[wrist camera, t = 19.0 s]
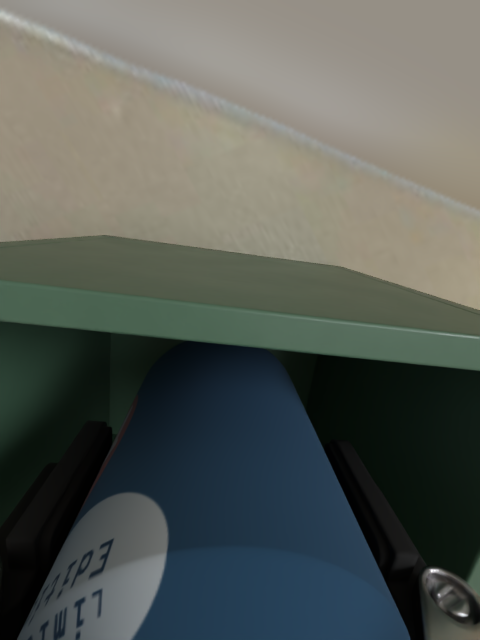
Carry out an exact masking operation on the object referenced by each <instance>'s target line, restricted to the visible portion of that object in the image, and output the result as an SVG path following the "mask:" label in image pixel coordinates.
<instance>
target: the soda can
mask: <svg viewBox="0 0 480 640" xmlns="http://www.w3.org/2000/svg"><path fill="white" fill-rule="evenodd" d="M17 640H410V636H409V633H408V630H407V628H406V626H405V623H404V621H403V619H402V617H401V615H400V613H399V610H398V608H397V606H396V604H395V602H394V600H393V598H392V595H391V593H390V591H389V589H388V587H387V585H386V582H385V580H384V578H383V576H382V574H381V572H380V570H379V567H378V565H377V563H376V561H375V559H374V557H373V555H372V552H371V550H370V548H369V546H368V544H367V542H366V540H365V537H364V535H363V533H362V531H361V529H360V527H359V525H358V522H357V520H356V518H355V516H354V514H353V512H352V509H351V507H350V505H349V503H348V501H347V499H346V497H345V494H344V492H343V490H342V488H341V486H340V484H339V482H338V479H337V477H336V475H335V473H334V471H333V469H332V467H331V464H330V462H329V460H328V458H327V456H326V454H325V452H324V449H323V447H322V445H321V443H320V441H319V439H318V436H317V434H316V432H315V430H314V428H313V426H312V424H311V421H310V419H309V417H308V415H307V413H306V411H305V409H304V406H303V404H302V402H301V400H300V398H299V396H298V394H297V391H296V389H295V387H294V385H293V383H292V381H291V379H290V376H289V374H288V373H287V371H286V369H285V368H284V366H283V365H282V364H281V362H280V361H279V360H278V359H277V358H276V357H275V356H274V355H273V354H272V353H270V352H269V351H268V350H266V349H263V348H254V347H244V346H234V345H225V344H215V343H205V342H196V341H185V342H182V343H180V344H178V345H176V346H175V347H173V348H171V349H170V350H168V351H167V352H166V353H165V354H163V355H162V356H161V357H160V358H159V359H158V360H157V361H156V362H155V363H154V364H153V366H152V367H151V368H150V370H149V371H148V373H147V375H146V377H145V379H144V381H143V383H142V385H141V387H140V389H139V391H138V393H137V395H136V397H135V399H134V401H133V403H132V405H131V407H130V409H129V411H128V413H127V415H126V417H125V419H124V421H123V424H122V426H121V428H120V430H119V432H118V434H117V436H116V438H115V440H114V442H113V444H112V446H111V448H110V450H109V452H108V454H107V456H106V458H105V460H104V462H103V464H102V466H101V468H100V470H99V473H98V475H97V477H96V479H95V481H94V483H93V485H92V487H91V489H90V491H89V493H88V495H87V497H86V499H85V501H84V503H83V505H82V507H81V509H80V511H79V513H78V515H77V517H76V520H75V522H74V524H73V526H72V528H71V530H70V532H69V534H68V536H67V538H66V540H65V542H64V544H63V546H62V548H61V550H60V552H59V554H58V556H57V558H56V560H55V562H54V564H53V567H52V569H51V571H50V573H49V575H48V577H47V579H46V581H45V583H44V585H43V587H42V589H41V591H40V593H39V595H38V597H37V599H36V601H35V603H34V605H33V607H32V609H31V611H30V613H29V616H28V618H27V620H26V622H25V624H24V626H23V628H22V630H21V632H20V634H19V636H18V638H17Z"/></svg>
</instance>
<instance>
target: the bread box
mask: <svg viewBox="0 0 480 640" xmlns="http://www.w3.org/2000/svg"><path fill="white" fill-rule="evenodd" d="M185 341H196V342H205V343H215V344H225V345H234V346H244V347H254V348H263V349H266V350H268V351H269V352H270V353H272V354H273V355H274V356H275V357H276V358H277V359H278V360H279V361H280V362H281V364H282V365H283V366H284V368H285V369H286V371H287V373H288V374H289V376H290V379H291V381H292V383H293V385H294V387H295V389H296V391H297V394H298V396H299V398H300V400H301V402H302V404H303V406H304V409H305V411H306V413H307V415H308V417H309V419H310V421H311V424H312V426H313V428H314V430H315V432H316V434H317V436H318V439H319V441H320V443H321V445H322V447H323V449H324V447H325V444H326V443H330V441H331V440H332V439H336V440H348V441H349V442H350V443H351V444H352V446H353V448H354V449H355V451H356V453H357V454H358V456H359V458H360V459H361V461H362V463H363V464H364V466H365V468H366V469H367V471H368V473H369V474H370V476H371V477H372V479H373V481H374V482H375V484H376V485H377V486H378V487H379V489H380V490H381V492H382V493H383V495H384V497H385V498H386V500H387V501H388V503H389V505H390V506H391V508H392V510H393V511H394V513H395V515H396V516H397V518H398V520H399V521H400V523H401V524H402V526H403V528H404V529H405V531H406V533H407V534H408V536H409V538H410V539H411V541H412V542H413V544H414V546H415V547H416V549H417V551H418V552H419V554H420V556H421V557H422V559H423V560H424V562H425V564H426V565H427V566H428V565H437V566H440V567H443V568H446V569H448V570H450V571H451V572H453V573H455V574H457V575H458V576H459V577H461V578H462V579H463V580H464V581H466V582H467V583H468V584H469V585H470V586H471V587H472V588H473V589H474V591H475V592H476V593H477V594H478V596H479V597H480V310H477V309H473V308H470V307H467V306H464V305H461V304H458V303H455V302H451V301H448V300H445V299H442V298H439V297H436V296H432V295H429V294H426V293H423V292H420V291H417V290H414V289H410V288H407V287H404V286H401V285H398V284H395V283H391V282H388V281H385V280H382V279H379V278H376V277H373V276H369V275H366V274H363V273H360V272H357V271H354V270H350V269H347V268H344V267H338V266H331V265H323V264H316V263H309V262H301V261H294V260H286V259H279V258H271V257H264V256H256V255H249V254H241V253H234V252H226V251H219V250H212V249H204V248H197V247H189V246H182V245H174V244H167V243H159V242H152V241H144V240H137V239H129V238H122V237H114V236H107V235H102V236H87V237H72V238H57V239H42V240H27V241H12V242H0V527H1V526H2V525H3V523H4V522H5V521H6V519H7V518H8V516H9V515H10V514H11V512H12V511H13V510H14V508H15V507H16V505H17V504H18V503H19V501H20V500H21V499H22V497H23V496H24V495H25V493H26V492H27V490H28V489H29V488H30V486H31V485H32V484H33V482H34V481H35V479H36V478H37V477H38V475H39V474H40V473H41V471H42V470H43V469H44V467H45V466H46V465H47V464H49V463H50V462H53V463H58V462H59V461H60V459H61V458H62V456H63V455H64V453H65V452H66V451H67V449H68V448H69V446H70V445H71V443H72V442H73V440H74V439H75V437H76V436H77V434H78V433H79V432H80V430H81V429H82V427H83V426H84V424H85V423H86V422H87V421H88V420H90V421H103V422H107V427H112V444H113V442H114V440H115V438H116V436H117V434H118V432H119V430H120V428H121V426H122V424H123V421H124V419H125V417H126V415H127V413H128V411H129V409H130V407H131V405H132V403H133V401H134V399H135V397H136V395H137V393H138V391H139V389H140V387H141V385H142V383H143V381H144V379H145V377H146V375H147V373H148V371H149V370H150V368H151V367H152V366H153V364H154V363H155V362H156V361H157V360H158V359H159V358H160V357H161V356H162V355H163V354H165V353H166V352H167V351H168V350H170V349H171V348H173V347H175V346H176V345H178V344H180V343H182V342H185Z"/></svg>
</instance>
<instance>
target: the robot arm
mask: <svg viewBox="0 0 480 640" xmlns="http://www.w3.org/2000/svg"><path fill="white" fill-rule="evenodd" d="M111 446H112V427H107V422H103V421H90V420H88V421H87V422H86V423H85V424H84V426H83V427H82V429H81V430H80V432H79V433H78V434H77V436H76V437H75V439H74V440H73V442H72V443H71V445H70V446H69V448H68V449H67V451H66V452H65V453H64V455H63V456H62V458H61V459H60V461H59V462H58V463H53V462H50V463H49V464H47V465H46V466H45V467H44V469H43V470H42V471H41V473H40V474H39V475H38V477H37V478H36V479H35V481H34V482H33V484H32V485H31V486H30V488H29V489H28V490H27V492H26V493H25V495H24V496H23V497H22V499H21V500H20V501H19V503H18V504H17V505H16V507H15V508H14V510H13V511H12V512H11V514H10V515H9V516H8V518H7V519H6V521H5V522H4V523H3V525H2V526H1V527H0V640H17V638H18V636H19V634H20V632H21V630H22V628H23V626H24V624H25V622H26V620H27V618H28V616H29V613H30V611H31V609H32V607H33V605H34V603H35V601H36V599H37V597H38V595H39V593H40V591H41V589H42V587H43V585H44V583H45V581H46V579H47V577H48V575H49V573H50V571H51V569H52V567H53V564H54V562H55V560H56V558H57V556H58V554H59V552H60V550H61V548H62V546H63V544H64V542H65V540H66V538H67V536H68V534H69V532H70V530H71V528H72V526H73V524H74V522H75V520H76V517H77V515H78V513H79V511H80V509H81V507H82V505H83V503H84V501H85V499H86V497H87V495H88V493H89V491H90V489H91V487H92V485H93V483H94V481H95V479H96V477H97V475H98V473H99V470H100V468H101V466H102V464H103V462H104V460H105V458H106V456H107V454H108V452H109V450H110V448H111ZM324 452H325V454H326V456H327V458H328V460H329V462H330V464H331V467H332V469H333V471H334V473H335V475H336V477H337V479H338V482H339V484H340V486H341V488H342V490H343V492H344V494H345V497H346V499H347V501H348V503H349V505H350V507H351V509H352V512H353V514H354V516H355V518H356V520H357V522H358V525H359V527H360V529H361V531H362V533H363V535H364V537H365V540H366V542H367V544H368V546H369V548H370V550H371V552H372V555H373V557H374V559H375V561H376V563H377V565H378V567H379V570H380V572H381V574H382V576H383V578H384V580H385V582H386V585H387V587H388V589H389V591H390V593H391V595H392V598H393V600H394V602H395V604H396V606H397V608H398V610H399V613H400V615H401V617H402V619H403V621H404V623H405V626H406V628H407V630H408V633H409V636H410V640H480V597H479V596H478V594H477V593H476V592H475V591H474V589H473V588H472V587H471V586H470V585H469V584H468V583H467V582H466V581H464V580H463V579H462V578H461V577H459V576H458V575H457V574H455V573H453V572H451V571H450V570H448V569H446V568H443V567H440V566H437V565H428V566H427V565H426V564H425V562H424V560H423V559H422V557H421V556H420V554H419V552H418V551H417V549H416V547H415V546H414V544H413V542H412V541H411V539H410V538H409V536H408V534H407V533H406V531H405V529H404V528H403V526H402V524H401V523H400V521H399V520H398V518H397V516H396V515H395V513H394V511H393V510H392V508H391V506H390V505H389V503H388V501H387V500H386V498H385V497H384V495H383V493H382V492H381V490H380V489H379V487H378V486H377V485H376V484H375V482H374V481H373V479H372V477H371V476H370V474H369V473H368V471H367V469H366V468H365V466H364V464H363V463H362V461H361V459H360V458H359V456H358V454H357V453H356V451H355V449H354V448H353V446H352V444H351V443H350V442H349V441H348V440H336V439H332V440H331V441H330V443H326V444H325V447H324Z"/></svg>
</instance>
